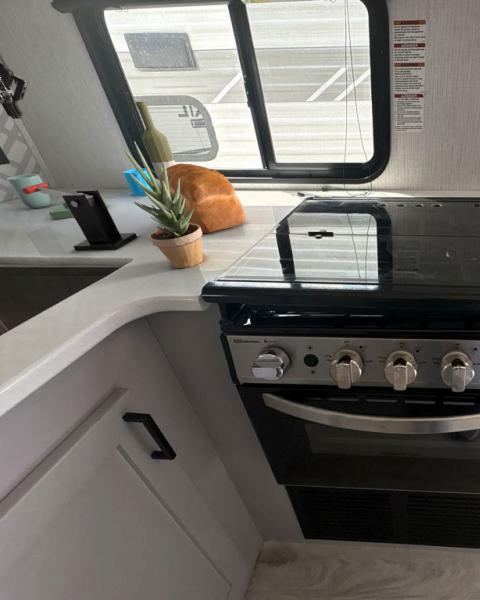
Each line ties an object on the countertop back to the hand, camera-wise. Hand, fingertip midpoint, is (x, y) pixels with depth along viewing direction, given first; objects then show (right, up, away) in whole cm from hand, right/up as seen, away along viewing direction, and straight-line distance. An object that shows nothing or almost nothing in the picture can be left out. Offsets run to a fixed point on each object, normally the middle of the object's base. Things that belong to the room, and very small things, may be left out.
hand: (17, 118), depth 94 cm
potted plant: (+63, -44, -21) cm, 80 cm away
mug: (+13, -12, +31) cm, 36 cm away
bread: (+53, -29, +3) cm, 60 cm away
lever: (+30, -29, -17) cm, 45 cm away
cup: (-15, -20, +20) cm, 32 cm away
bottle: (+28, -15, +26) cm, 41 cm away
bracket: (+35, -38, -11) cm, 53 cm away
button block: (+6, -23, +13) cm, 27 cm away
